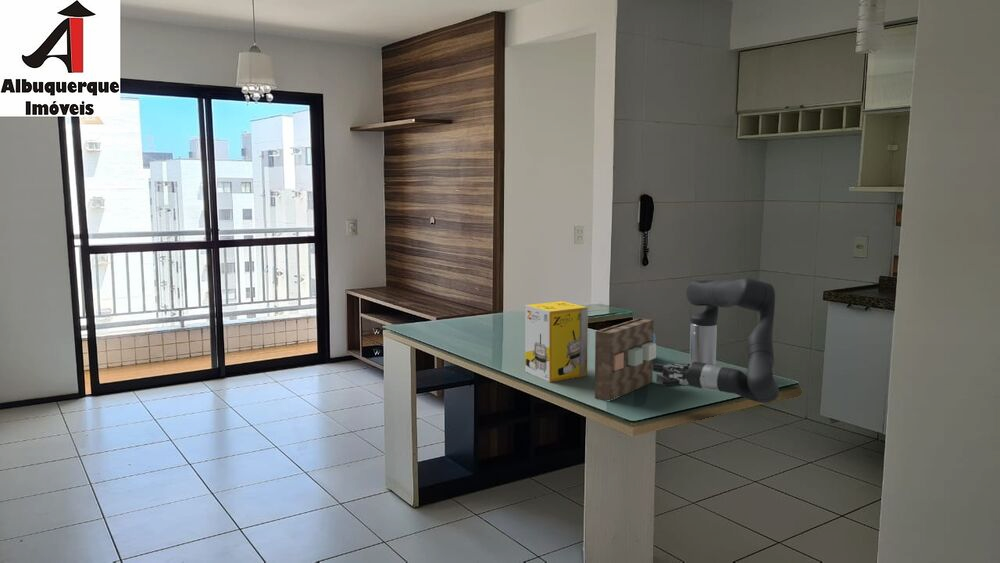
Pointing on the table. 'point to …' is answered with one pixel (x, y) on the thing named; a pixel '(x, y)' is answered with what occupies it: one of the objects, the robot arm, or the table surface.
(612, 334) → the keypad panel
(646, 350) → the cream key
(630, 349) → the sage key
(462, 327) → the table surface
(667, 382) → the walkie-talkie
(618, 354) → the terracotta key
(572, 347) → the packaging box
